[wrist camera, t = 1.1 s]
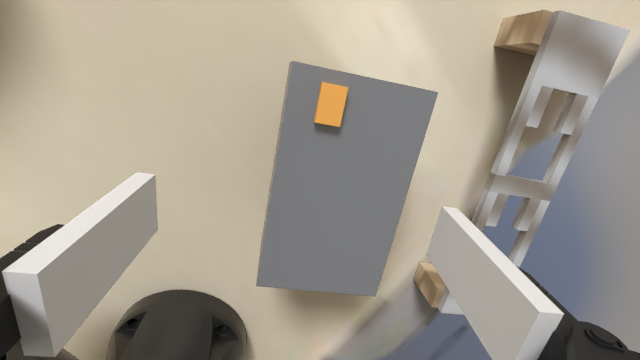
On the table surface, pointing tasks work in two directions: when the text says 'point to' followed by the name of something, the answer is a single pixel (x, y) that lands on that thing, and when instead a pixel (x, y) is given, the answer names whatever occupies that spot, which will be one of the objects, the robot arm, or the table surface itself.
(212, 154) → the table surface
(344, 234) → the grey box orange tab
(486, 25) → the table surface
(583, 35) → the keyhole board
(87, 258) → the robot arm
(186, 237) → the table surface
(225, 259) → the table surface
